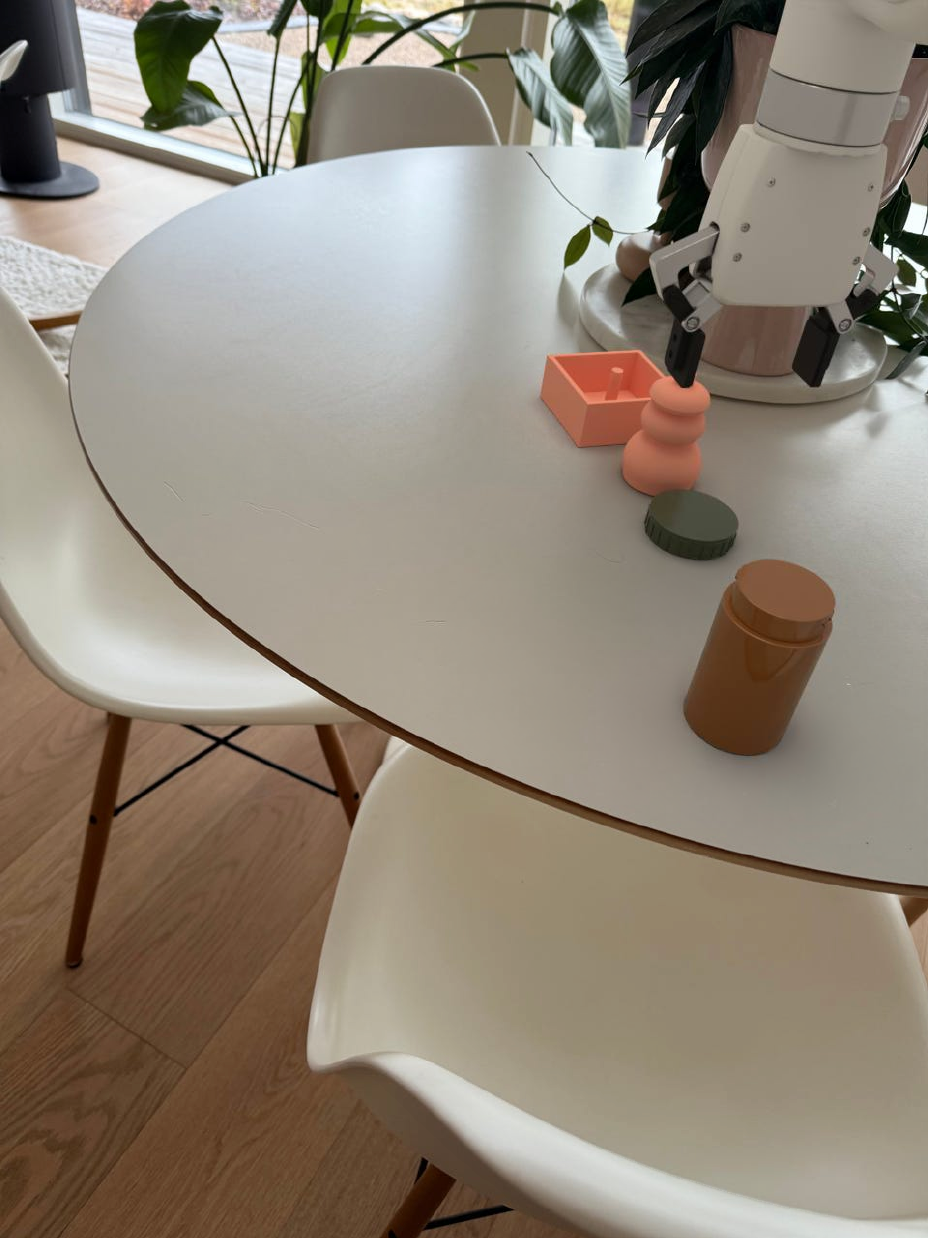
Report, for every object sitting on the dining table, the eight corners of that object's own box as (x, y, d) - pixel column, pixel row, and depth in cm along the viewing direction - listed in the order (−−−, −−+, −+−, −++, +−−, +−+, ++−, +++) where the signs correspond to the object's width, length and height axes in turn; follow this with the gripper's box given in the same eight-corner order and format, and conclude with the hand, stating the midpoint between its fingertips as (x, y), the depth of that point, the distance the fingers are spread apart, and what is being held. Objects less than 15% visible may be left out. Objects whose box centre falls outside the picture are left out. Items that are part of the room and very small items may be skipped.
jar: (792, 706, 65) (851, 579, 58) (771, 771, 61) (832, 641, 54) (699, 669, 67) (745, 541, 60) (670, 729, 63) (717, 598, 56)
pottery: (539, 396, 94) (558, 294, 87) (630, 390, 97) (654, 291, 90) (622, 505, 81) (650, 396, 75) (723, 494, 84) (758, 388, 78)
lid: (625, 525, 79) (630, 506, 78) (680, 497, 83) (685, 479, 82) (696, 571, 75) (703, 552, 74) (750, 540, 79) (757, 521, 78)
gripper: (916, 104, 64) (827, 355, 75) (664, 87, 60) (608, 354, 71) (986, 137, 58) (879, 403, 69) (713, 121, 54) (645, 406, 65)
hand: (742, 378), depth 70 cm, fingers open, 9 cm apart
